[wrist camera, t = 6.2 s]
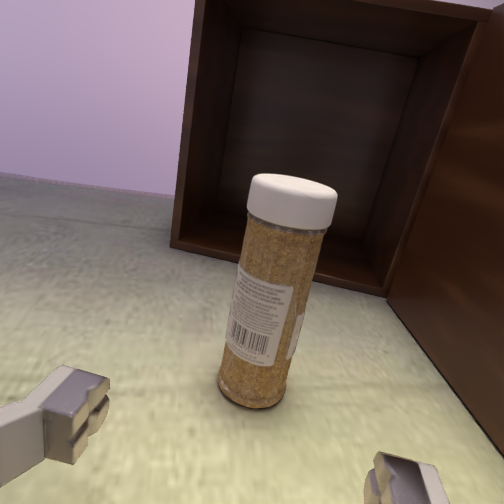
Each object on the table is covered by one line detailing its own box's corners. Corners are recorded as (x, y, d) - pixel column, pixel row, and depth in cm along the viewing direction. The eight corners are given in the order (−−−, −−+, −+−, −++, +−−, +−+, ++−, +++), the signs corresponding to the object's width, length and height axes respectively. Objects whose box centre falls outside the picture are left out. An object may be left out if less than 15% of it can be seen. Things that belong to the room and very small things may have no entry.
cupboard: (388, 298, 39) (495, 9, 29) (169, 247, 42) (199, -39, 32) (365, 247, 56) (428, 52, 46) (209, 212, 58) (237, 19, 48)
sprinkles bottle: (298, 393, 23) (357, 192, 18) (246, 424, 20) (300, 193, 15) (252, 353, 26) (292, 171, 21) (201, 374, 23) (234, 168, 18)
